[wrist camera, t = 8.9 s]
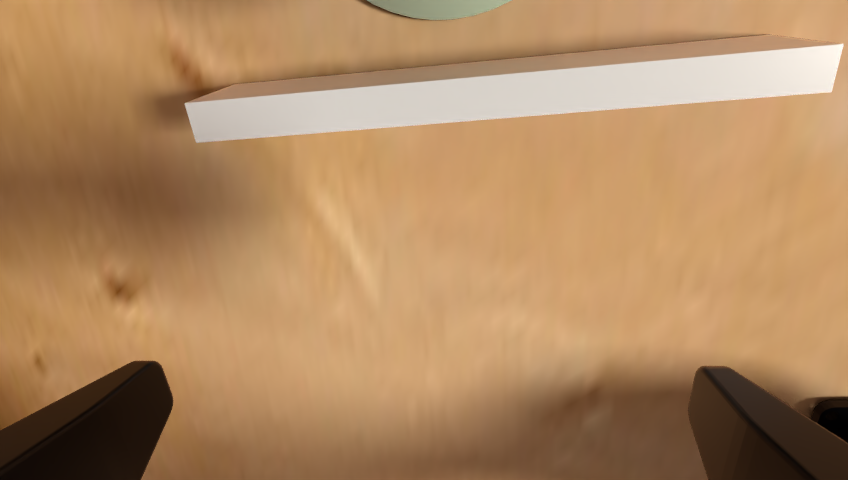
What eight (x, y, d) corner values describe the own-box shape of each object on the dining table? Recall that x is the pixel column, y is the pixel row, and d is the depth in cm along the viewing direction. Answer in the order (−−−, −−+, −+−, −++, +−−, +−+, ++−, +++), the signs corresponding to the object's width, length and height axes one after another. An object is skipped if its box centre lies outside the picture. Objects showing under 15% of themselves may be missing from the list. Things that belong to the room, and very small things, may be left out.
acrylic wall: (769, 34, 16) (843, 43, 13) (761, 73, 16) (831, 91, 13) (233, 84, 18) (184, 103, 15) (242, 117, 18) (196, 142, 15)
